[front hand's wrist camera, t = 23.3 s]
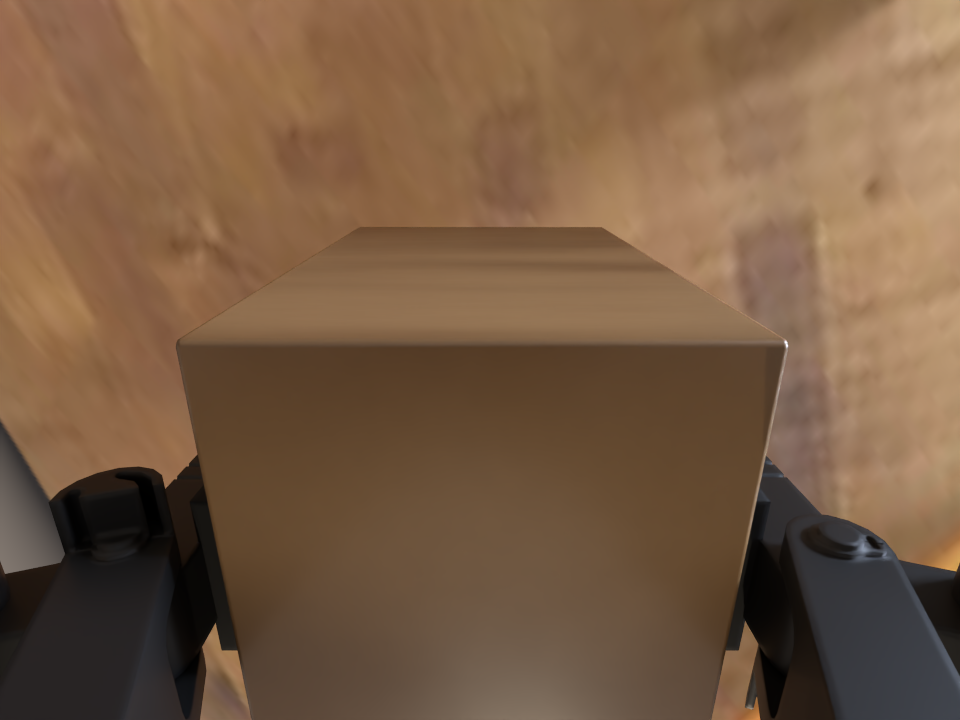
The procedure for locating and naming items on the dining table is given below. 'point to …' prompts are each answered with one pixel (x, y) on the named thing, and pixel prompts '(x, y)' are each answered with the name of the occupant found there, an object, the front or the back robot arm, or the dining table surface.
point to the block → (481, 477)
